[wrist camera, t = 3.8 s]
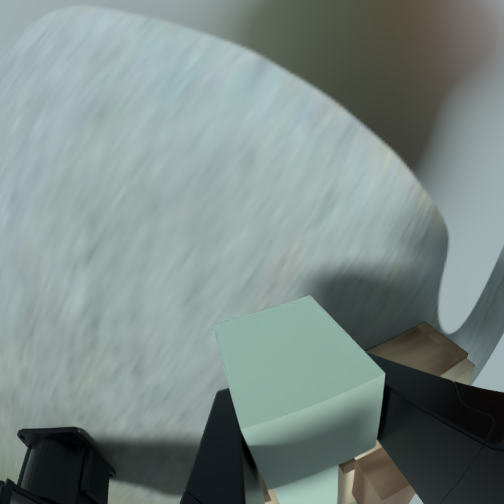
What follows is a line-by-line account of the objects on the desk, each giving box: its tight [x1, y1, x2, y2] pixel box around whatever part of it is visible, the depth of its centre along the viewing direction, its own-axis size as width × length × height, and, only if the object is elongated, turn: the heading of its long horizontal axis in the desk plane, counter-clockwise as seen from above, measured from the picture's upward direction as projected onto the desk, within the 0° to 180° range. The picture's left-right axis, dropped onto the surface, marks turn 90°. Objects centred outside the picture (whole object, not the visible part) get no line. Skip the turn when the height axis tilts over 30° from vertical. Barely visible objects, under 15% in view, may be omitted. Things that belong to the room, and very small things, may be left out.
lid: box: [265, 358, 475, 504], centre depth 14 cm, size 16×11×5 cm
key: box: [213, 295, 385, 504], centre depth 10 cm, size 3×21×4 cm, turn 12°
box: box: [258, 322, 468, 502], centre depth 17 cm, size 16×14×8 cm
